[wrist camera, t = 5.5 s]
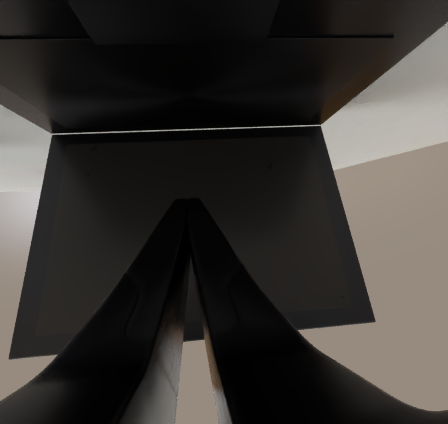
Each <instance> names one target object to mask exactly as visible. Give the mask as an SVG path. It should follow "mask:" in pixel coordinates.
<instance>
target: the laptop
mask: <svg viewBox="0 0 448 424" xmlns="http://www.w3.org/2000/svg"><path fill="white" fill-rule="evenodd" d="M447 22H448V0H0V104H1V105H3V106H4V107H6V108H8V109H10V110H11V111H13V112H15V113H17V114H18V115H20V116H22V117H23V118H25V119H27V120H29V121H30V122H32V123H34V124H36V125H37V126H39V127H41V128H43V129H44V130H46V131H48V132H50V133H82V132H112V131H142V130H173V129H203V128H233V127H263V126H294V125H321V124H322V123H324V122H325V121H326V120H327V119H329V118H330V117H331V116H332V115H334V114H335V113H336V112H337V111H338V110H340V109H341V108H342V107H343V106H345V105H346V104H347V103H348V102H350V101H351V100H352V99H353V98H354V97H356V96H357V95H358V94H359V93H361V92H362V91H363V90H364V89H366V88H367V87H368V86H369V85H370V84H372V83H373V82H374V81H375V80H377V79H378V78H379V77H380V76H382V75H383V74H384V73H385V72H386V71H388V70H389V69H390V68H391V67H393V66H394V65H395V64H396V63H398V62H399V61H400V60H401V59H402V58H404V57H405V56H406V55H407V54H409V53H410V52H411V51H412V50H414V49H415V48H416V47H417V46H418V45H420V44H421V43H422V42H423V41H425V40H426V39H427V38H428V37H430V36H431V35H432V34H433V33H434V32H436V31H437V30H438V29H439V28H441V27H442V26H443V25H444V24H446V23H447Z"/></svg>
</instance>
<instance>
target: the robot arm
mask: <svg viewBox="0 0 448 424" xmlns="http://www.w3.org/2000/svg"><path fill="white" fill-rule="evenodd" d="M190 261H192V268H193V274H194V280H195V286H196V292H197V297H198V303H199V309H200V315H201V321H202V327H203V333H204V338H205V344H206V350H207V356H208V362H209V368H210V374H211V380H212V385H213V391H214V397H215V402H216V409H217V415H218V421H219V424H448V410H445V411H426V410H423V409H419V408H416V407H413V406H411V405H408V404H406V403H404V402H402V401H400V400H398V399H396V398H394V397H393V396H391V395H389V394H388V393H386V392H384V391H383V390H381V389H380V388H378V387H377V386H375V385H373V384H372V383H370V382H369V381H367V380H365V379H364V378H362V377H361V376H359V375H357V374H356V373H354V372H352V371H351V370H349V369H348V368H346V367H344V366H343V365H341V364H340V363H338V362H336V361H335V360H333V359H332V358H330V357H328V356H327V355H325V354H324V353H322V352H321V351H319V350H318V349H316V348H315V347H314V346H313V345H312V344H310V343H309V342H308V341H307V340H306V339H305V338H304V337H303V336H302V335H301V334H300V333H299V331H298V330H297V329H296V328H295V327H294V326H293V325H292V323H291V322H290V321H289V320H288V319H287V318H286V317H285V315H284V314H283V313H282V312H281V311H280V310H279V309H278V307H277V306H276V305H275V304H274V303H273V302H272V301H271V299H270V298H269V297H268V296H267V295H266V294H265V292H264V291H263V290H262V289H261V287H260V286H259V285H258V284H257V282H256V281H255V280H254V278H253V277H252V275H251V274H250V273H249V271H248V270H247V268H246V267H245V265H244V264H243V263H242V261H241V259H240V258H239V256H238V255H237V253H236V252H235V250H234V249H233V247H232V246H231V244H230V243H229V241H228V240H227V238H226V237H225V235H224V234H223V232H222V231H221V229H220V228H219V226H218V225H217V223H216V222H215V220H214V219H213V217H212V216H211V214H210V213H209V211H208V210H207V208H206V207H205V205H204V204H203V202H202V201H201V199H200V198H188V200H187V199H186V198H182V199H175V200H174V201H173V203H172V204H171V206H170V207H169V208H168V210H167V211H166V213H165V214H164V216H163V217H162V219H161V220H160V222H159V223H158V224H157V226H156V227H155V229H154V230H153V232H152V233H151V235H150V236H149V238H148V239H147V240H146V242H145V243H144V245H143V246H142V248H141V249H140V251H139V252H138V253H137V255H136V256H135V258H134V259H133V261H132V262H131V264H130V265H129V267H128V268H127V269H126V272H124V274H123V275H122V276H121V278H120V279H119V281H118V282H117V284H116V285H115V286H114V288H113V289H112V291H111V292H110V293H109V295H108V296H107V297H106V299H105V300H104V301H103V302H102V303H101V305H100V306H99V307H98V308H97V309H96V311H95V312H94V313H93V314H92V316H91V317H90V318H89V319H88V320H87V321H86V323H85V324H84V325H83V326H82V327H81V328H80V330H79V331H78V332H77V333H76V334H75V335H74V337H73V338H72V339H71V340H70V341H69V342H68V344H67V345H66V346H65V347H64V348H63V349H62V351H61V352H60V353H59V354H58V355H57V356H56V357H55V359H54V360H53V361H52V362H51V363H50V364H49V365H48V366H47V367H46V368H45V369H44V370H43V371H42V372H41V373H39V374H38V375H37V376H36V377H35V378H34V379H32V380H31V381H30V382H28V383H27V384H26V385H24V386H23V387H21V388H20V389H18V390H17V391H15V392H14V393H12V394H11V395H9V396H8V397H6V398H5V399H3V400H2V401H0V424H175V417H176V407H177V396H178V386H179V375H180V365H181V355H182V344H183V334H184V324H185V314H186V304H187V293H188V283H189V273H190Z"/></svg>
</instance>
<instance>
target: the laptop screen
mask: <svg viewBox="0 0 448 424" xmlns="http://www.w3.org/2000/svg"><path fill="white" fill-rule="evenodd" d="M182 198H186V199H187V200H188V198H200V199H201V201H202V202H203V204H204V205H205V207H206V208H207V210H208V211H209V213H210V214H211V216H212V217H213V219H214V220H215V222H216V223H217V225H218V226H219V228H220V229H221V231H222V232H223V234H224V235H225V237H226V238H227V240H228V241H229V243H230V244H231V246H232V247H233V249H234V250H235V252H236V253H237V255H238V256H239V258H240V259H241V261H242V263H243V264H244V265H245V267H246V268H247V270H248V271H249V273H250V274H251V275H252V277H253V278H254V280H255V281H256V282H257V284H258V285H259V286H260V287H261V289H262V290H263V291H264V292H265V294H266V295H267V296H268V297H269V298H270V299H271V301H272V302H273V303H274V304H275V305H276V306H277V307H278V309H279V310H280V311H281V312H282V313H283V314H284V315H285V317H286V318H287V319H288V320H289V321H290V322H291V323H292V325H293V326H294V327H295V328H296V329H297V330H304V329H313V328H323V327H333V326H343V325H353V324H362V323H372V322H375V318H374V314H373V310H372V307H371V303H370V300H369V296H368V293H367V289H366V286H365V282H364V278H363V275H362V271H361V268H360V264H359V261H358V257H357V254H356V250H355V246H354V243H353V239H352V236H351V232H350V229H349V225H348V222H347V218H346V214H345V211H344V207H343V204H342V200H341V197H340V193H339V190H338V186H337V182H336V179H335V176H334V172H333V168H332V165H331V161H330V158H329V154H328V150H327V147H326V143H325V140H324V136H323V133H322V129H321V126H304V127H274V128H245V129H215V130H185V131H155V132H125V133H96V134H66V135H52V138H51V144H50V149H49V154H48V159H47V164H46V169H45V174H44V179H43V185H42V190H41V195H40V200H39V205H38V210H37V215H36V220H35V226H34V231H33V236H32V241H31V246H30V252H29V256H28V262H27V267H26V272H25V277H24V282H23V287H22V293H21V298H20V303H19V308H18V313H17V318H16V323H15V328H14V333H13V338H12V344H11V349H10V354H9V359H20V358H30V357H39V356H49V355H58V354H59V353H60V352H61V351H62V349H63V348H64V347H65V346H66V345H67V344H68V342H69V341H70V340H71V339H72V338H73V337H74V335H75V334H76V333H77V332H78V331H79V330H80V328H81V327H82V326H83V325H84V324H85V323H86V321H87V320H88V319H89V318H90V317H91V316H92V314H93V313H94V312H95V311H96V309H97V308H98V307H99V306H100V305H101V303H102V302H103V301H104V300H105V299H106V297H107V296H108V295H109V293H110V292H111V291H112V289H113V288H114V286H115V285H116V284H117V282H118V281H119V279H120V278H121V276H122V275H123V274H124V272H126V269H127V268H128V267H129V265H130V264H131V262H132V261H133V259H134V258H135V256H136V255H137V253H138V252H139V251H140V249H141V248H142V246H143V245H144V243H145V242H146V240H147V239H148V238H149V236H150V235H151V233H152V232H153V230H154V229H155V227H156V226H157V224H158V223H159V222H160V220H161V219H162V217H163V216H164V214H165V213H166V211H167V210H168V208H169V207H170V206H171V204H172V203H173V201H174V200H175V199H182ZM196 340H205V338H204V333H203V327H202V321H201V315H200V309H199V303H198V297H197V292H196V286H195V280H194V274H193V268H192V261H190V273H189V283H188V293H187V304H186V314H185V324H184V334H183V342H186V341H196Z"/></svg>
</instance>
